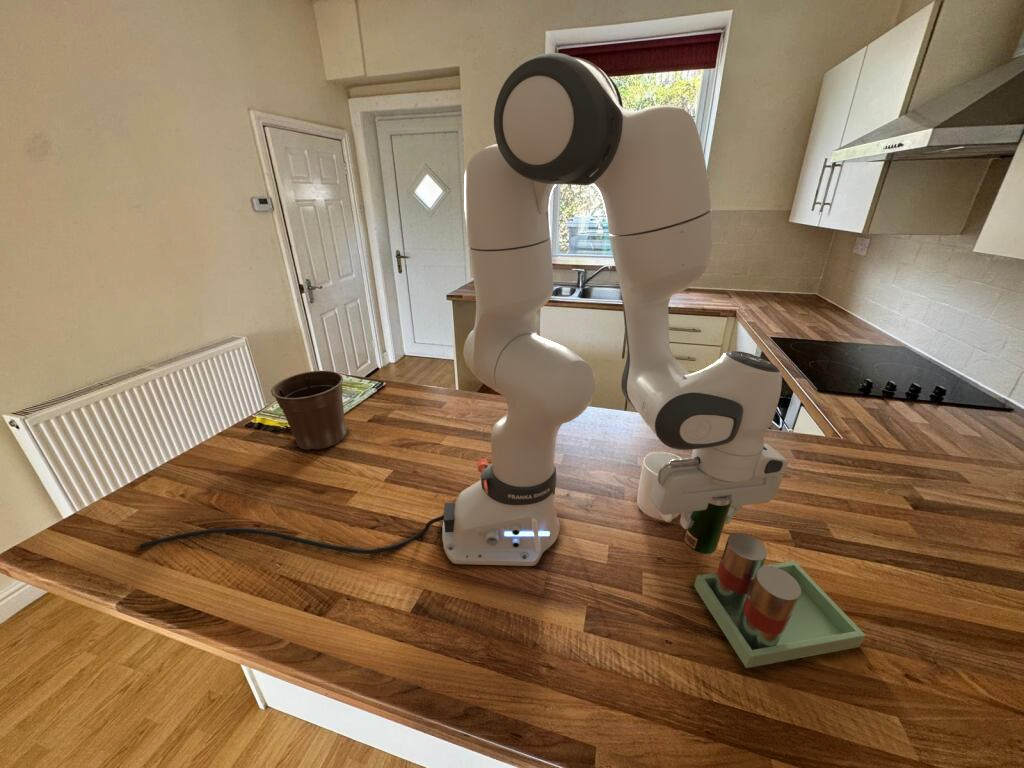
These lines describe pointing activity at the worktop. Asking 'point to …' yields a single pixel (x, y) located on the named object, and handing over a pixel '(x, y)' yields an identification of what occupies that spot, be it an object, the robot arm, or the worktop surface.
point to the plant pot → (313, 408)
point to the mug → (652, 484)
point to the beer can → (707, 526)
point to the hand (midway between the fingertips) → (704, 523)
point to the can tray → (789, 623)
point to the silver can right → (768, 607)
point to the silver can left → (738, 571)
